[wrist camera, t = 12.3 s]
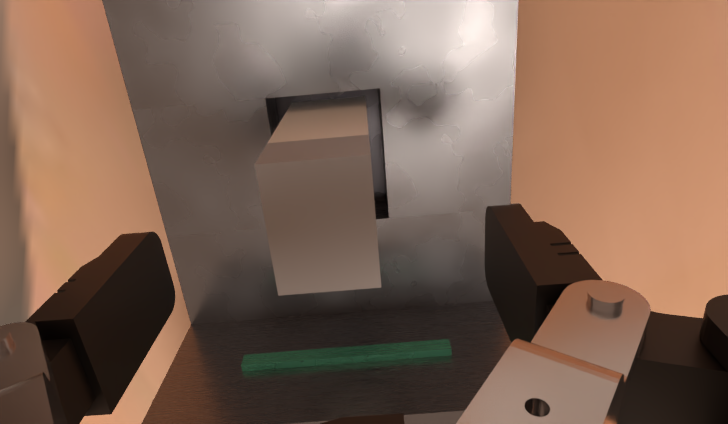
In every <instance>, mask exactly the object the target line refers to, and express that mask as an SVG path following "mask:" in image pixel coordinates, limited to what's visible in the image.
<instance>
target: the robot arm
mask: <svg viewBox="0 0 728 424" xmlns="http://www.w3.org/2000/svg"><path fill="white" fill-rule="evenodd" d="M484 266H485V277H486V282H487V286H488V289H489V292H490V294H491V297H492V299H493V301H494V304H495V306H496V308H497V311H498V313H499V315H500V318H501V320H502V322H503V325H504V327H505V329H506V332H507V334H508V336H509V339H510V341H511V345H510V346H509V347H508V349H507V350H506V352H505V353H504V355H503V356H502V358H501V359H500V360H499V362H498V363H497V365H496V366H495V368H494V369H493V371H492V372H491V374H490V375H489V376H488V378H487V379H486V381H485V382H484V384H483V385H482V387H481V388H480V390H479V391H478V392H477V394H476V395H475V397H474V398H473V400H472V401H471V403H470V404H469V406H468V407H467V408H466V410H465V411H464V413H463V414H462V416H461V417H460V419H459V420H458V422H457V423H456V424H728V295H722V296H717V297H715V298H713V299H711V300H710V301H709V302H708V303H707V305H706V308H705V313H704V317H703V318H694V317H686V316H677V315H669V314H662V313H656V312H652V311H650V310H651V309H650V305H649V303H648V301H647V300H646V299H645V298H644V297H643V296H642V295H641V294H640V293H638V292H636V291H635V290H633V289H631V288H629V287H627V286H624V285H621V284H618V283H614V282H610V281H603V280H602V279H601V278H600V277H599V275H598V274H597V273H596V272H595V271H594V269H593V268H592V267H591V266H590V265H589V263H588V262H587V261H586V260H585V259H584V257H583V256H582V255H581V254H579V251H578V250H577V249H576V248H575V247H574V245H573V244H571V242H570V241H569V239H568V238H567V237H566V236H565V235H564V233H563V232H562V231H561V230H559V229H557V228H555V227H553V226H552V225H550V224H548V223H546V222H544V221H543V222H533V220H532V219H531V218H530V216H529V215H528V214H527V212H526V211H525V210H524V208H523V207H522V206H521V205H520V204H519V203H518V204H506V205H493V206H487V208H486V214H485V260H484ZM57 291H58V293H54V294H53V295H52V296H51V297H50V298H49V299H48V300H47V301H46V302H45V303H44V304H43V305H42V306H41V307H40V308H39V309H38V310H37V311H36V312H35V313H34V314H33V315H32V316H31V317H30V318H29V319H28V320H27V321H26V322H17V323H10V324H6V325H2V326H0V424H79V423H80V422H81V420H82V419H83V417H84V416H90V415H105V414H112V412H113V410H114V409H115V407H116V405H117V404H118V402H119V400H120V399H121V397H122V395H123V394H124V392H125V390H126V389H127V387H128V385H129V383H130V382H131V380H132V378H133V377H134V375H135V373H136V372H137V370H138V368H139V367H140V365H141V363H142V362H143V360H144V358H145V357H146V355H147V353H148V351H149V350H150V348H151V346H152V345H153V343H154V341H155V340H156V338H157V336H158V335H159V333H160V331H161V330H162V328H163V326H164V325H165V323H166V321H167V319H168V318H169V316H170V314H171V313H172V311H173V308H174V303H175V290H174V285H173V281H172V278H171V274H170V271H169V267H168V264H167V261H166V257H165V254H164V250H163V247H162V243H161V240H160V238H159V236H158V235H157V234H156V233H155V232H145V233H132V234H122V235H120V236H119V237H118V238H117V239H116V240H115V241H114V242H113V243H112V244H111V245H110V246H109V247H108V248H107V249H106V250H105V251H104V252H103V253H102V254H101V255H100V256H99V257H97V258H96V259H94V260H92V261H90V262H89V263H87V264H85V265H84V266H82V267H81V268H80V269H79V270H78V271H77V272H76V273H75V274H74V275H73V276H72V277H71V278H69V279H68V282H65V283H64V284H63V285H62V286H61V287H60V288H59V289H58V290H57ZM320 424H405V423H404V413H401V414H386V415H371V416H356V417H342V418H338V419H335V420H331V421H327V422H324V423H320Z"/></svg>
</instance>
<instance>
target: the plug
mask: <svg viewBox="0 0 728 424" xmlns="http://www.w3.org/2000/svg"><path fill="white" fill-rule="evenodd" d="M254 165H255V170H256V176H257V181H258V187H259V192H260V198H261V203H262V209H263V214H264V220H265V225H266V231H267V236H268V242H269V247H270V253H271V258H272V264H273V269H274V275H275V280H276V286H277V291H278V296H280V295H293V294H305V293H318V292H331V291H343V290H356V289H369V288H381V276H380V264H379V252H378V239H377V227H376V214H375V202H374V190H373V177H372V165H371V153H370V142H369V131H368V120H367V109H366V99H365V96H363V97H352V98H340V99H329V100H317V101H306V102H294V103H291V105H290V106H289V108H288V110H287V111H286V113H285V115H284V116H283V118H282V120H281V121H280V123H279V125H278V126H277V128H276V130H275V131H274V133H273V135H272V136H271V138H270V140H269V141H268V143H267V145H266V146H265V148H264V150H263V151H262V153H261V154H260V156H259V158H258V159H257V161H256V163H255V164H254Z"/></svg>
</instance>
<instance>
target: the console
mask: <svg viewBox="0 0 728 424" xmlns="http://www.w3.org/2000/svg"><path fill="white" fill-rule="evenodd" d="M102 1H103V5H104V9H105V12H106V16H107V20H108V23H109V27H110V31H111V34H112V38H113V41H114V45H115V49H116V52H117V56H118V60H119V63H120V67H121V71H122V74H123V78H124V81H125V85H126V89H127V92H128V96H129V100H130V103H131V107H132V111H133V114H134V118H135V121H136V125H137V129H138V132H139V136H140V140H141V143H142V147H143V151H144V154H145V158H146V161H147V165H148V169H149V172H150V176H151V180H152V183H153V187H154V190H155V194H156V198H157V201H158V205H159V209H160V212H161V216H162V220H163V223H164V227H165V230H166V234H167V238H168V241H169V245H170V249H171V252H172V256H173V260H174V263H175V267H176V270H177V274H178V278H179V281H180V285H181V289H182V292H183V296H184V300H185V303H186V307H187V310H188V314H189V318H190V321H191V326H190V328H189V330H188V332H187V334H186V336H185V338H184V340H183V342H182V344H181V346H180V348H179V350H178V352H177V354H176V356H175V358H174V360H173V362H172V364H171V366H170V368H169V370H168V372H167V374H166V376H165V378H164V380H163V382H162V384H161V386H160V388H159V390H158V392H157V394H156V396H155V398H154V400H153V402H152V404H151V406H150V408H149V410H148V412H147V414H146V416H145V418H144V420H143V422H142V424H320V423H324V422H327V421H331V420H335V419H338V418H342V417H356V416H371V415H386V414H401V413H404V423H405V424H456V423H457V422H458V420H459V419H460V417H461V416H462V414H463V413H464V411H465V410H466V408H467V407H468V406H469V404H470V403H471V401H472V400H473V398H474V397H475V395H476V394H477V392H478V391H479V390H480V388H481V387H482V385H483V384H484V382H485V381H486V379H487V378H488V376H489V375H490V374H491V372H492V371H493V369H494V368H495V366H496V365H497V363H498V362H499V360H500V359H501V358H502V356H503V355H504V353H505V352H506V350H507V349H508V347H509V346H510V345H511V341H510V339H509V336H508V334H507V332H506V329H505V327H504V325H503V322H502V320H501V318H500V315H499V313H498V311H497V308H496V306H495V304H494V301H493V299H492V297H491V294H490V292H489V289H488V286H487V282H486V277H485V266H484V260H485V214H486V208H487V206H493V205H506V204H510V199H511V174H512V149H513V124H514V99H515V74H516V49H517V24H518V0H102ZM363 96H365V99H366V109H367V120H368V131H369V142H370V153H371V165H372V177H373V190H374V202H375V214H376V227H377V239H378V252H379V264H380V276H381V288H369V289H356V290H343V291H331V292H318V293H305V294H293V295H280V296H278V291H277V286H276V280H275V275H274V269H273V264H272V258H271V253H270V247H269V242H268V236H267V231H266V225H265V220H264V214H263V209H262V203H261V198H260V192H259V187H258V181H257V176H256V170H255V165H254V164H255V163H256V161H257V159H258V158H259V156H260V154H261V153H262V151H263V150H264V148H265V146H266V145H267V143H268V141H269V140H270V138H271V136H272V135H273V133H274V131H275V130H276V128H277V126H278V125H279V123H280V121H281V120H282V118H283V116H284V115H285V113H286V111H287V110H288V108H289V106H290V105H291V103H294V102H306V101H317V100H329V99H340V98H352V97H363Z"/></svg>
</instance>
